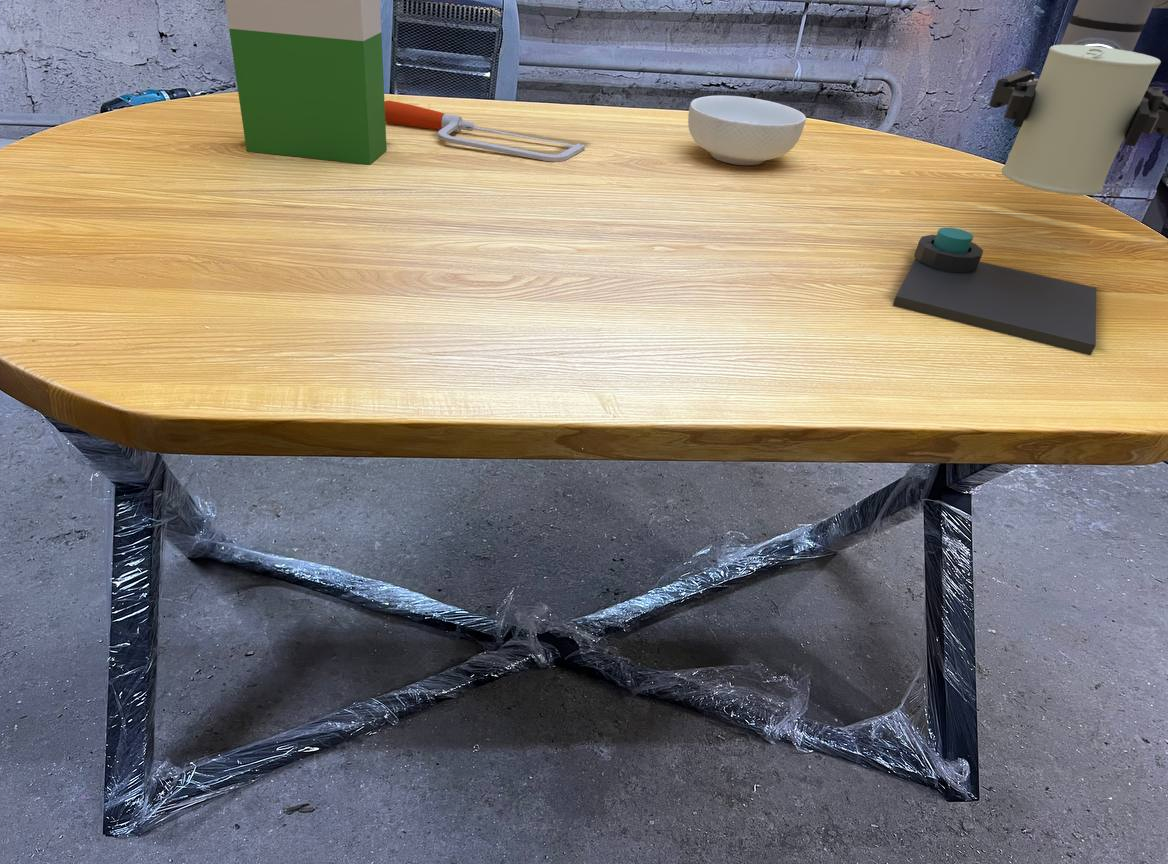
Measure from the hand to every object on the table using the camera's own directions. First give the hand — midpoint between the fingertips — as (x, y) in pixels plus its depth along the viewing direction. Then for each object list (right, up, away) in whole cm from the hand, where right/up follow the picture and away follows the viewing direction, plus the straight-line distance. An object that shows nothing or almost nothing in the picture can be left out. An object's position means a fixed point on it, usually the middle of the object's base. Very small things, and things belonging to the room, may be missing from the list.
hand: (1078, 120), depth 76 cm
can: (+2, -3, +7) cm, 8 cm away
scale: (-2, -14, +10) cm, 18 cm away
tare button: (-4, -8, +15) cm, 17 cm away
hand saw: (-59, +18, +48) cm, 78 cm away
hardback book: (-80, +13, +40) cm, 90 cm away
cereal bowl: (-19, +15, +49) cm, 55 cm away
